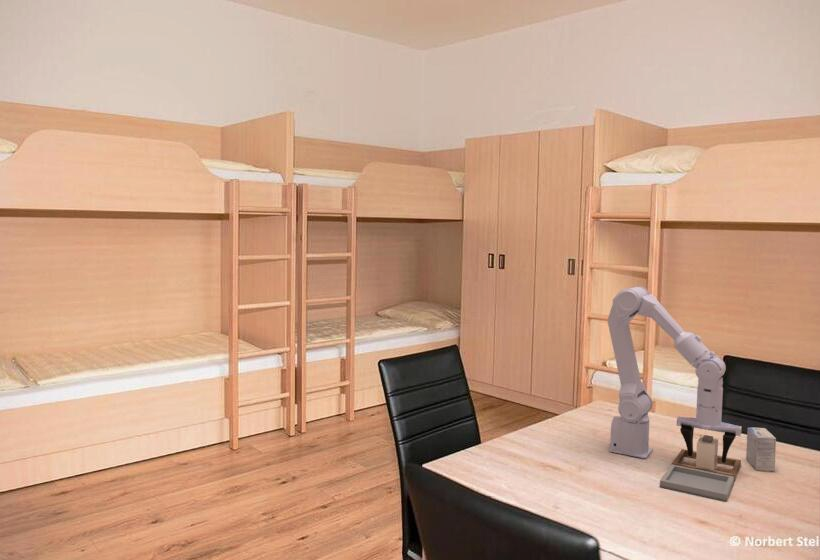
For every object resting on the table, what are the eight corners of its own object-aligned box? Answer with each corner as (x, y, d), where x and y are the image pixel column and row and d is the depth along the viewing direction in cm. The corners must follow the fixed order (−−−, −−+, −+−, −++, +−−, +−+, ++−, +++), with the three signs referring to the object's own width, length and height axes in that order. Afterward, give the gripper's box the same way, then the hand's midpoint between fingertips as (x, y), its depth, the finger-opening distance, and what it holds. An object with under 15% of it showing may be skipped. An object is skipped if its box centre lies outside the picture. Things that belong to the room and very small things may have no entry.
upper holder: (671, 469, 159) (672, 463, 159) (681, 454, 169) (681, 448, 169) (734, 481, 151) (734, 475, 151) (740, 465, 161) (741, 459, 161)
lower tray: (659, 487, 148) (660, 480, 148) (670, 470, 158) (671, 464, 158) (726, 501, 140) (726, 494, 140) (733, 483, 150) (734, 476, 150)
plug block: (695, 469, 158) (697, 439, 158) (700, 462, 163) (701, 432, 163) (713, 473, 156) (714, 442, 156) (717, 465, 161) (718, 435, 161)
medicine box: (775, 472, 157) (777, 438, 156) (755, 470, 158) (757, 436, 157) (764, 460, 165) (765, 427, 164) (745, 459, 166) (747, 426, 165)
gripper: (674, 404, 159) (672, 457, 160) (739, 413, 151) (737, 469, 152) (680, 397, 165) (678, 448, 166) (743, 406, 157) (740, 460, 158)
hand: (706, 458), depth 160 cm, fingers open, 7 cm apart
